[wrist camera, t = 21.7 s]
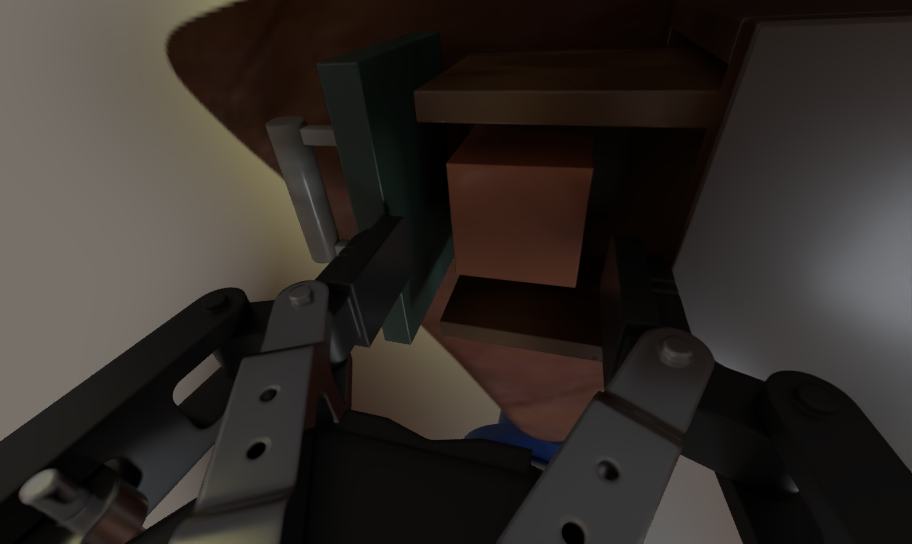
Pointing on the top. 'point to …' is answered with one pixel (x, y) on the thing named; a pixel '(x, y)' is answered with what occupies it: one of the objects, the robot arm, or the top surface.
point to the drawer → (501, 102)
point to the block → (521, 201)
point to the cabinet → (804, 197)
